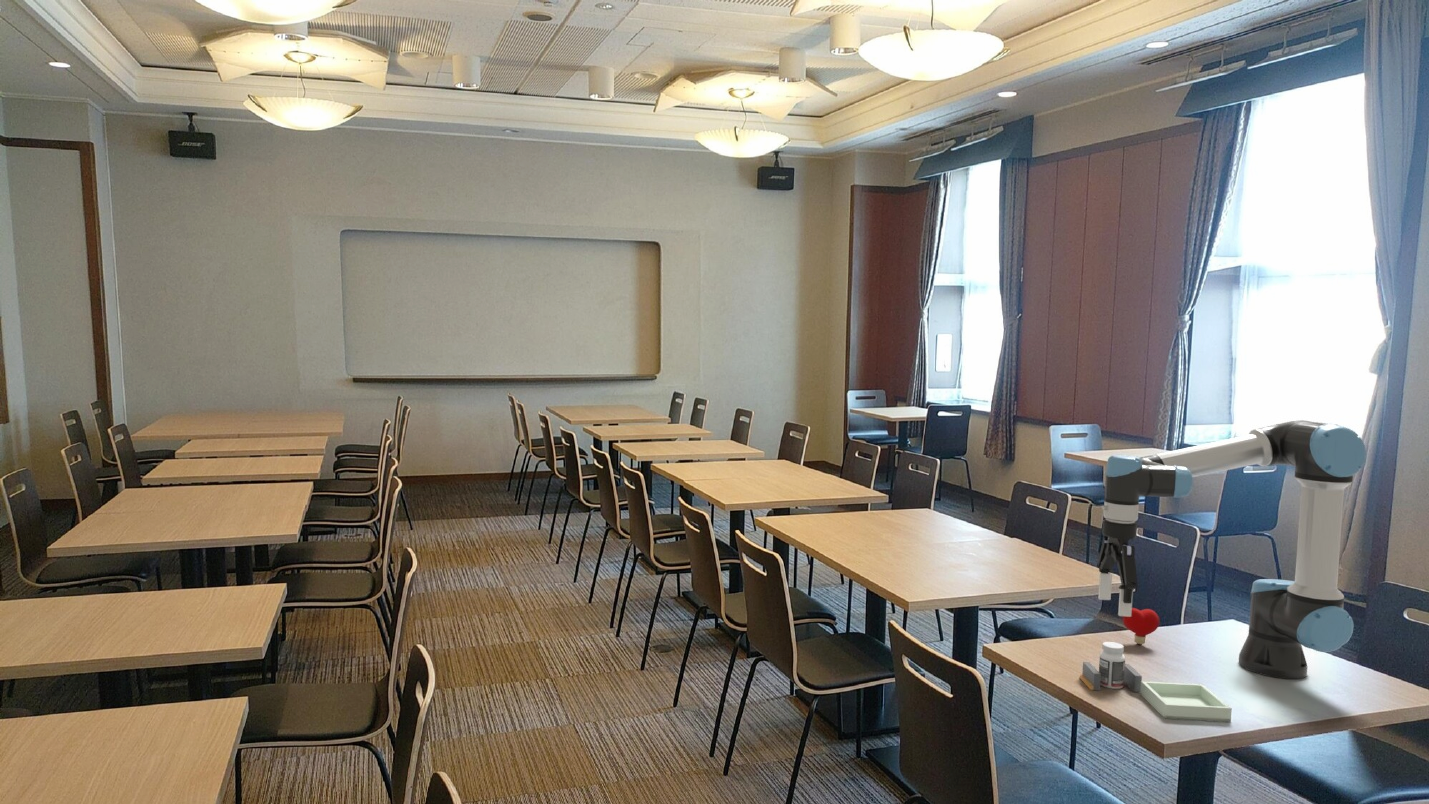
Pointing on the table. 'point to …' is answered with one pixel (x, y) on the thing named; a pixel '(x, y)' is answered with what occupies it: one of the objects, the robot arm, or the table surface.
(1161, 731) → the table surface
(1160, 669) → the table surface
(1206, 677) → the table surface
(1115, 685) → the pill bottle
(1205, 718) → the tray
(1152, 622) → the red heart bulb
